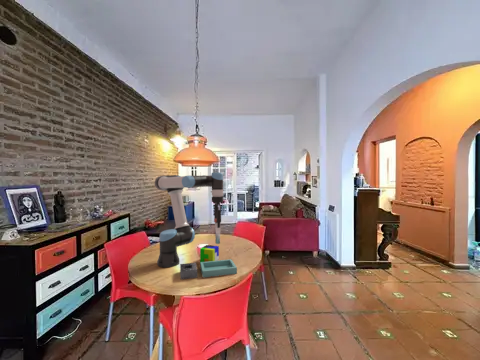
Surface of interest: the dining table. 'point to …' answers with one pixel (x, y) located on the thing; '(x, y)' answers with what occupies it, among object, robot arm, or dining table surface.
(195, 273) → the block
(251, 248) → the dining table surface
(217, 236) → the pin
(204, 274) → the tray
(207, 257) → the puzzle toy
